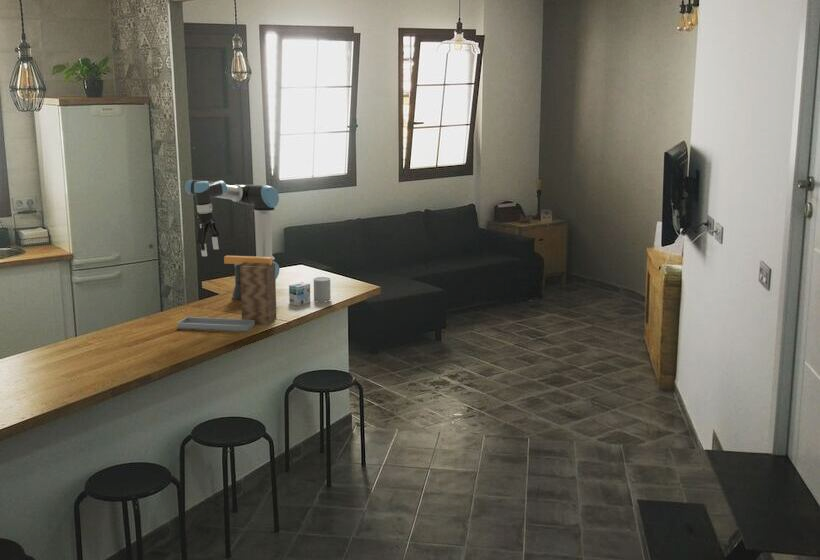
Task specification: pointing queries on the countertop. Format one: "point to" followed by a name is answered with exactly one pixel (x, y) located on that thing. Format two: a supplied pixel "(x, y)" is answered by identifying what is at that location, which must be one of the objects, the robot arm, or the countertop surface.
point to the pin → (246, 259)
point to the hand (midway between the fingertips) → (210, 252)
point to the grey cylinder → (322, 289)
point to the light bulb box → (299, 293)
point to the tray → (216, 324)
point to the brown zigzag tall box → (258, 292)
